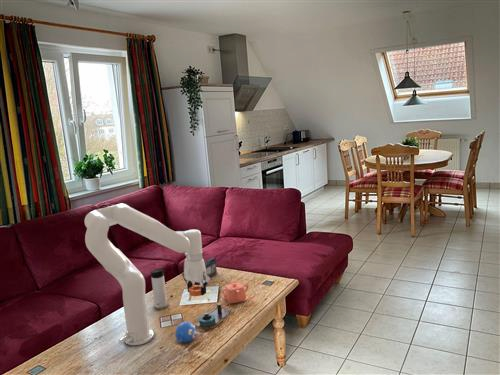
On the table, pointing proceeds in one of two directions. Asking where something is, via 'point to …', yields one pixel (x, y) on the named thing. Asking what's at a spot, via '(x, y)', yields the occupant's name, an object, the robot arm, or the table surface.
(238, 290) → the teapot
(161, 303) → the travel mug
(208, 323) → the teal faceted ring
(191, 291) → the orange octagonal ring
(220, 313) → the stand
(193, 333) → the toy whale
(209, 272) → the vhs cassette tape
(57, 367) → the table surface
